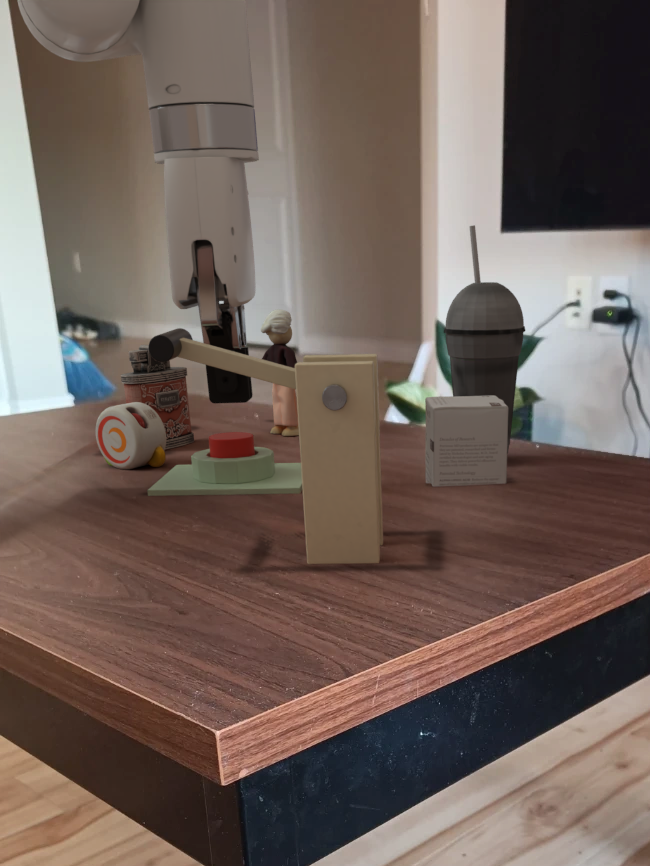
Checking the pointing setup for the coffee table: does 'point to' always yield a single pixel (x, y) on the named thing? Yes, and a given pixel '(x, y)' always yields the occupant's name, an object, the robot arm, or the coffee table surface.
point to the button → (231, 445)
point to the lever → (218, 358)
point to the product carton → (466, 440)
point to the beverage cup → (485, 339)
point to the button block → (230, 476)
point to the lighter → (160, 394)
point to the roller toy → (131, 436)
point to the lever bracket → (340, 457)
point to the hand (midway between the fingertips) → (231, 401)
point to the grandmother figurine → (282, 354)
